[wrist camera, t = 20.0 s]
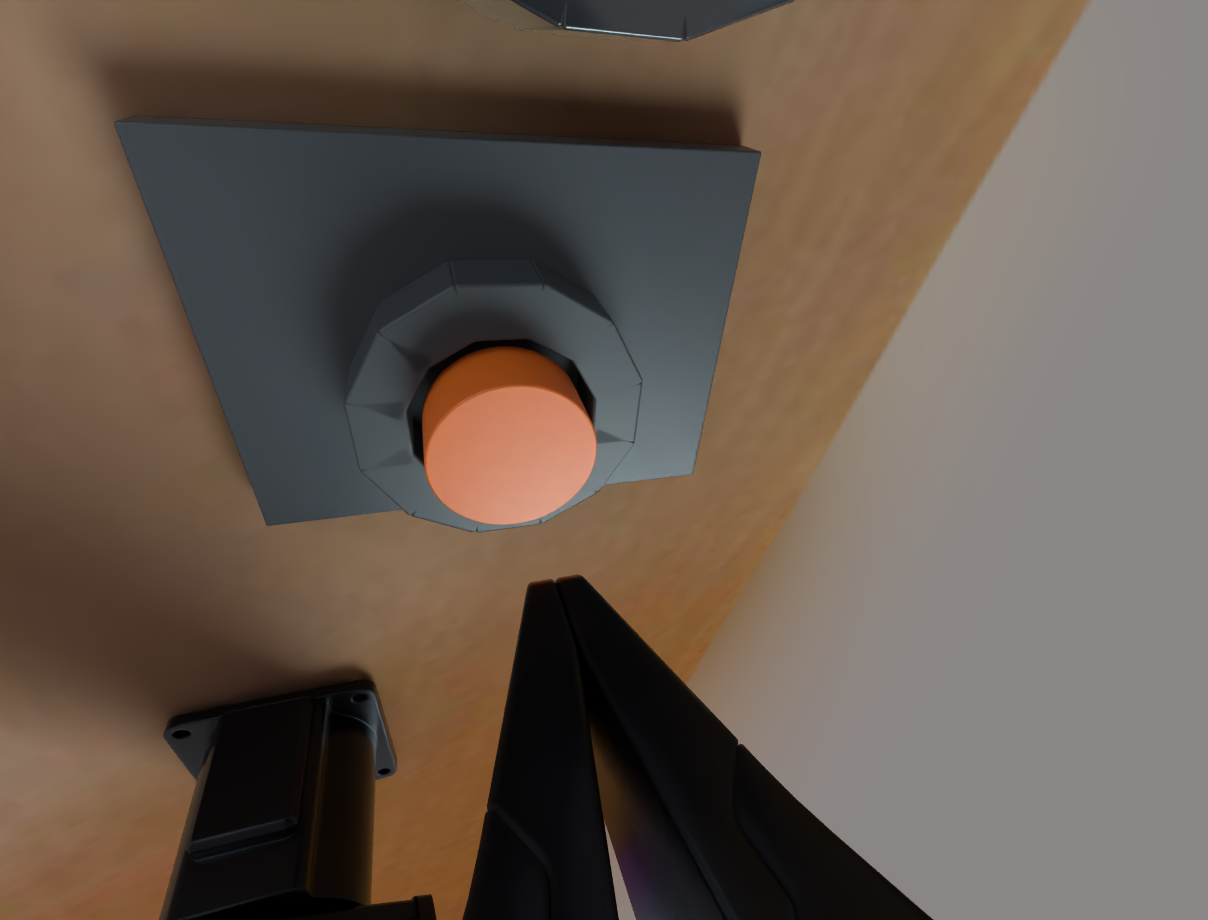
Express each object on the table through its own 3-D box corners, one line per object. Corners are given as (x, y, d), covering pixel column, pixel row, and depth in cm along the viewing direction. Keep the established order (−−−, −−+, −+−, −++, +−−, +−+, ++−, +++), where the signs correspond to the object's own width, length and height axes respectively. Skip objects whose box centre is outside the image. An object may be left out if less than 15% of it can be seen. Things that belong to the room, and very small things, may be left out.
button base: (682, 458, 18) (714, 507, 16) (272, 504, 15) (253, 572, 13) (743, 145, 13) (801, 165, 11) (131, 114, 10) (67, 134, 8)
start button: (575, 470, 15) (592, 514, 13) (430, 486, 14) (434, 535, 12) (581, 341, 12) (604, 378, 11) (412, 349, 11) (412, 391, 10)
